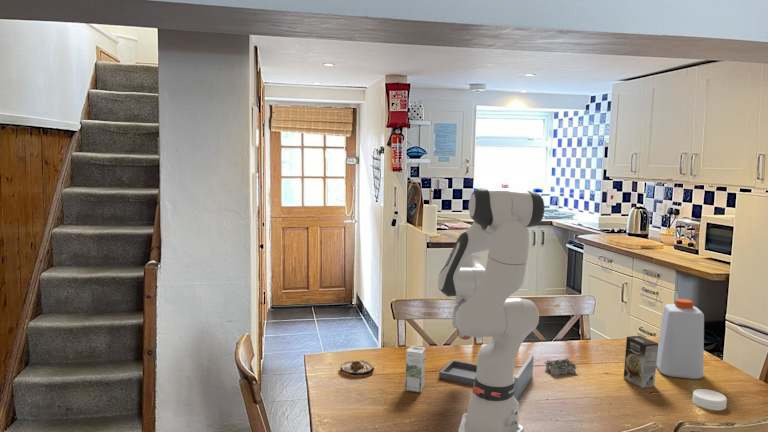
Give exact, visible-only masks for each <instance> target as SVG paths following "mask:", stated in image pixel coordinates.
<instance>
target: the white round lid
mask: <svg viewBox="0 0 768 432" xmlns="http://www.w3.org/2000/svg"><path fill="white" fill-rule="evenodd" d="M727 401H728V399H727V396H725V395H724V394H723V393H721V392H718V391H716V390H712V389H708V388H707V389H706V388H705V389H704V388H698V389H695V390H693V391H692V403H693V404H694V405H696V406H697V407H700V408H702V409H704V410H705V409H706V410H709V411H724V410H726V409H727Z"/></svg>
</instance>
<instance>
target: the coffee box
mask: <svg viewBox="0 0 768 432" xmlns="http://www.w3.org/2000/svg"><path fill="white" fill-rule="evenodd" d="M625 343H626V344H625V355H624V368H623V379H624V380H626V381H627V382H629V383H631V384H633V385H636V386H637V387H639V388H642V389H643V388H649V387H655V382H656V373H657V372H656V371H657V366H656V363H657V353H658V342H656V341H653V340H651V339H648V338H646V337H644V336H642V335H631V336H627V337H626V342H625Z"/></svg>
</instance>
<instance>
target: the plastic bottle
mask: <svg viewBox="0 0 768 432" xmlns="http://www.w3.org/2000/svg"><path fill="white" fill-rule="evenodd" d="M674 301H675V303H667V304H665V305H664V306H663V311H662V312H663V313H662V318H661V324H660V328H659V329H660V330H659V336H658V342H657V343H658V353H657V363H656V368H657V369H658V371H659V372H660V373H661V374H662V375H664V376H667V377H671V378H677V379H678V378H681V379H688V380H689V379H690V380H700V379H702V378H703V376H704V358H705V357H704V356H705V355H704V351H705V348H704V347H705V345H704V343H705V338H704V337H705V314H704V313H703V311H701V310H700V309H699V308H698V307H697V306H694V301H692V300H690V299H687V298H677V299H675V300H674Z"/></svg>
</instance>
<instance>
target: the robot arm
mask: <svg viewBox="0 0 768 432" xmlns="http://www.w3.org/2000/svg"><path fill="white" fill-rule="evenodd" d="M468 212H469V216H470V218H471V219H472V220H473V222H472V224H471V225H470V226H469V228H468V229H467V230H465V231H463V232H462V233H461V234H460V235H459V236H458V238H457V240H456V241H455V244H454V246H453V247H452V250H451V252H450V254H449V256H448V259H447V261H446V262H445V265H444V266H443V268H442V269H441V270H440V272H439V274H438V279H437V284H438V289H439V291H440V292H441V293H442V294H443V295H445V296H446V297H454V302H456V303H457V304H456V305H455V307H453V313H452V320H451V321H452V322H451V323H452V327H453V328H454V329H457V328H458V330H459V336H460V337H464V336H470V337H471V338H477V339H478V338H481V339H482V338H490V337H491V339H490V341H489V342H488V343H487V344H486V345H485V346H483V347H481V348H480V350H479V351H478V354H477V357H476V364H477V372H476V377H475V381H474V386H472V390H471V392H470V399H469V403H468V407H466V410H465V411H466V412H464V413H463V414H462V417H461V421H460V424H459V427H458V431H457V432H525V431H524V430H525V428H524V426H523V425H521V424H520V403H519V401H518V400H516V398H515V397H514V392H515V381H514V378H515V367H516V366H515V365H516V359H517V355H518V352H519V350H520V347H521V345H522V343H523V342H524V340H525V339H526V338H527V336H529V335H530V334H531V333H532V332H533V331H534V330H535V329H536V328H537V327H538V325H539V322H540V321H539V320H540V312H539V309H538V307H537V305H536V304H535V303H534V301H532V300H530V299H526V298H521V297H511V296H512V295H513V294H515V293H516V292H518V291H519V290H520V289H521V288H522V286H523V284H524V281H525V274H526V269H527V263H528V256H529V246H530V244H529V243H530V237H529V234H530V233H529V228H530V227H536V226H538V225H539V224H540V223H541V222H542V221H543V217H544V214H545V201H544V199H543V198H542V195H540V193H537V192H534V191H530V190H529V191H528V190H527V191H523V190H517V189H511V188H510V189H509V188H506V187H505V188H499V187H497V188H488V187H482V188H477V189H474V191H473V192H471V195H470V197H469V201H468ZM485 251H488V253H487V254H488V255H487V260H486V266H485V267H484V266H483V264H482V261H481V255H480V254H478V253H480V252H485ZM459 336H458V337H459ZM460 337H459V338H460Z"/></svg>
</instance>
